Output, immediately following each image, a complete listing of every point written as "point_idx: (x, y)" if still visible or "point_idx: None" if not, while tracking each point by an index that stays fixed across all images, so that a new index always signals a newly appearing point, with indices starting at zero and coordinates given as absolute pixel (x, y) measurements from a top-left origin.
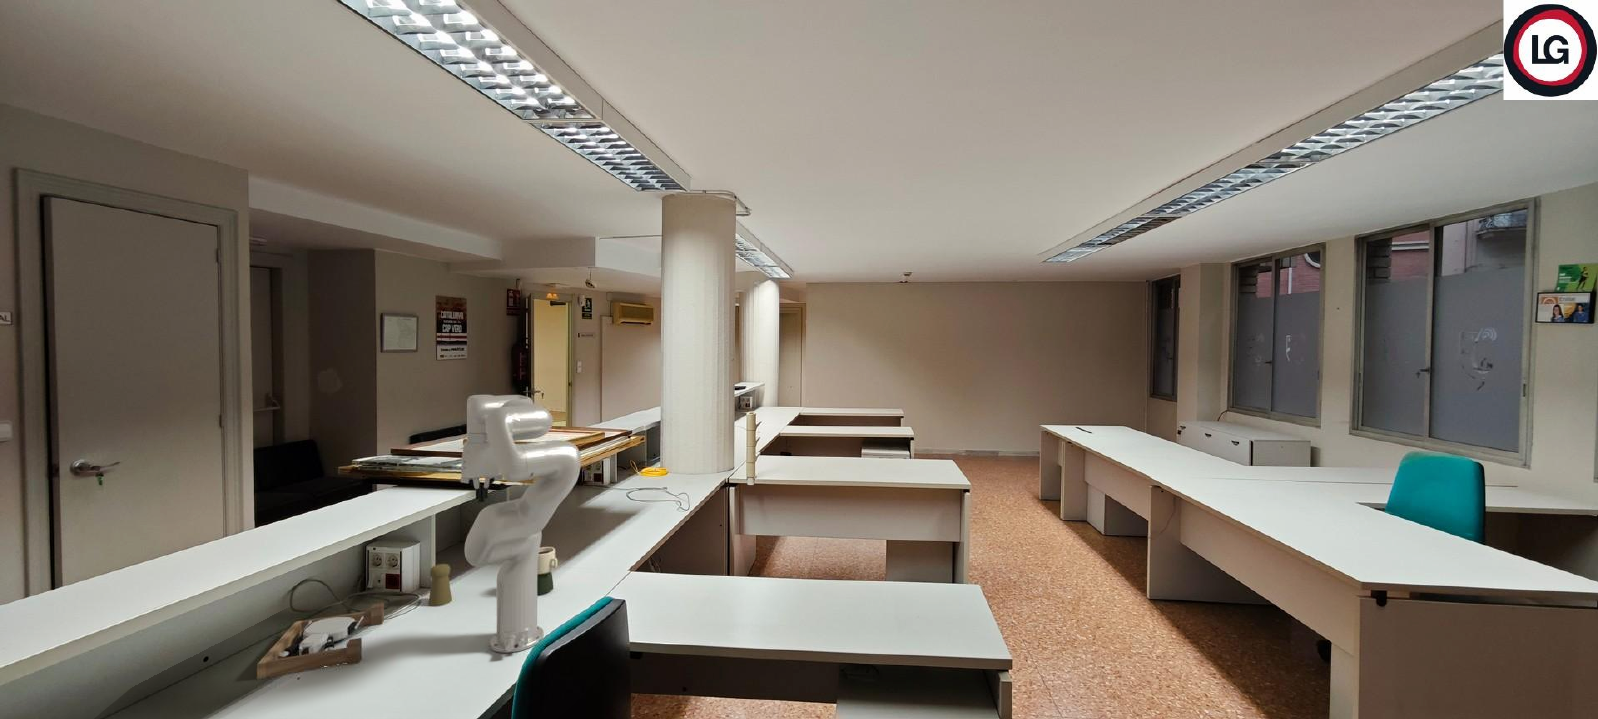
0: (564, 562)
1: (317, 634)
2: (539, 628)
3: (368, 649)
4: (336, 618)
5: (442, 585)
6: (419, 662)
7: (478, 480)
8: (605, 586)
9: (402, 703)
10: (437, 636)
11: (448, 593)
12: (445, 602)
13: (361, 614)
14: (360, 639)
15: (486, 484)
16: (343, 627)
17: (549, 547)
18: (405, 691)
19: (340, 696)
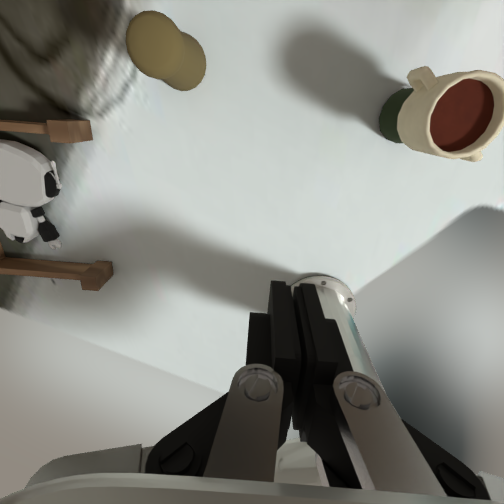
0: None
1: (9, 212)
2: (352, 302)
3: (110, 238)
4: (3, 154)
5: (176, 77)
6: (193, 307)
7: (266, 459)
8: None
9: (194, 378)
10: (204, 240)
11: (195, 74)
12: (194, 86)
13: (41, 133)
14: (96, 282)
15: (344, 482)
16: (40, 200)
17: (500, 85)
18: (192, 360)
19: (125, 341)
